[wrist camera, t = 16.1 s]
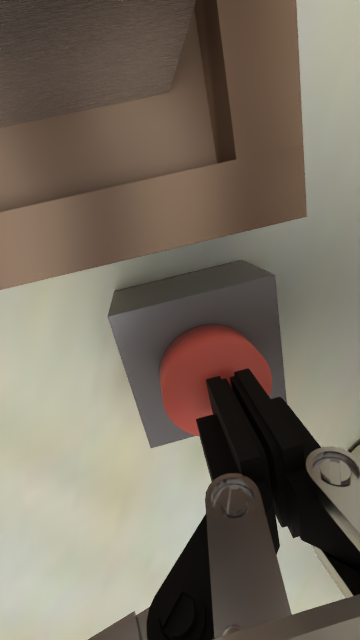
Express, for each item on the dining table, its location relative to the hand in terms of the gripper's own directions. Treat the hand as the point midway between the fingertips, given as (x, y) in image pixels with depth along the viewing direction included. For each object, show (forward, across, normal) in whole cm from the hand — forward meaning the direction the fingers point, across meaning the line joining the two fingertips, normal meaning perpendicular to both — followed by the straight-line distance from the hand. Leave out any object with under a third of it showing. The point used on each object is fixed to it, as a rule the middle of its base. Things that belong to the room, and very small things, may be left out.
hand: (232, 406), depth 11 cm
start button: (+2, 0, 0) cm, 2 cm away
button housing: (+6, 0, 0) cm, 6 cm away
